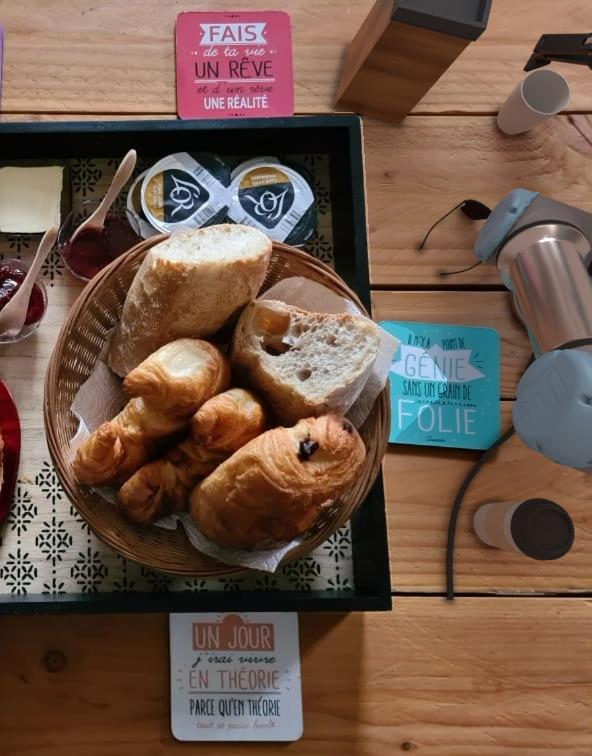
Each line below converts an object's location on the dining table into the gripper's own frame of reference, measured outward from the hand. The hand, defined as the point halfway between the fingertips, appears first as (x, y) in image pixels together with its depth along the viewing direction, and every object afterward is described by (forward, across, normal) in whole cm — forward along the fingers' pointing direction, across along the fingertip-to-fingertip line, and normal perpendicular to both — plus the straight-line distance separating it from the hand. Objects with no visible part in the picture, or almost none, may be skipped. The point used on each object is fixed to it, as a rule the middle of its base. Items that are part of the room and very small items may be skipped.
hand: (567, 82), depth 115 cm
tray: (-8, +26, 0) cm, 27 cm away
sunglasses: (+6, 0, +28) cm, 29 cm away
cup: (+15, -1, +4) cm, 15 cm away
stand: (+16, +24, +9) cm, 30 cm away
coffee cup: (-11, -22, +67) cm, 71 cm away
